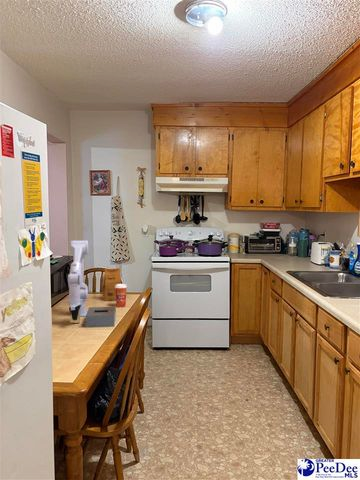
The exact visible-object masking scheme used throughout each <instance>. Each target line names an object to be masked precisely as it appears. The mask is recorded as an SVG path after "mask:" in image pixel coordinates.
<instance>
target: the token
mask: <svg viewBox="0 0 360 480" xmlns="http://www.w3.org/2000/svg"><path fill="white" fill-rule="evenodd" d="M80 322H81V316H80V314H78V316H77V320H73V319H72V315H71V314H70V315H69V324H73V323H74V324H77V323H80Z"/></svg>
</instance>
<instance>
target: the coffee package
mask: <svg viewBox="0 0 360 480" xmlns="http://www.w3.org/2000/svg"><path fill="white" fill-rule="evenodd" d="M121 279H122V278H121V267H115V268H104V275H103V281H102V282H103V284H102V298H103V301H105V302H108V301H112V302H115V301H116V288H115V286H116V285H117V284H122V283H121V282H122V281H121Z"/></svg>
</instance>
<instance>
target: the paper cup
mask: <svg viewBox="0 0 360 480" xmlns="http://www.w3.org/2000/svg"><path fill="white" fill-rule="evenodd" d="M115 288H116V307H117V308H125V307H126V304H127V288H128V286H127V284H125V283H121V284H117V285H116V286H115Z"/></svg>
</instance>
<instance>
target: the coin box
mask: <svg viewBox="0 0 360 480" xmlns="http://www.w3.org/2000/svg"><path fill="white" fill-rule="evenodd" d="M116 307H117V306H94V307H93V306H91V307H88V309H87V314H86V316H84V317H85V319H84V320H85V321H84V322H85V328H103V327H105V328H106V327H115V325H116V317H117V316H116V315H117V314H116V313H117V311H116V309H117V308H116Z"/></svg>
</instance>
